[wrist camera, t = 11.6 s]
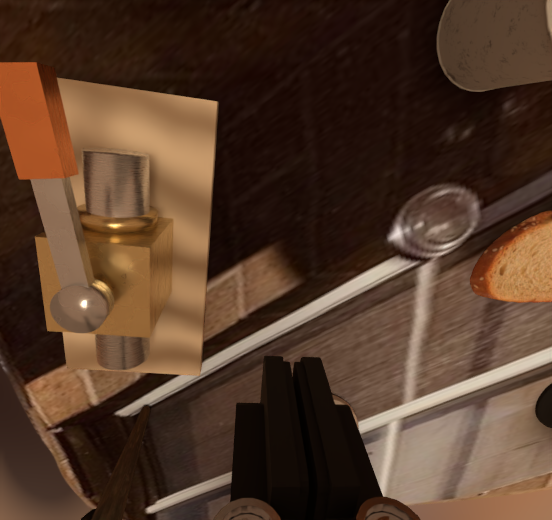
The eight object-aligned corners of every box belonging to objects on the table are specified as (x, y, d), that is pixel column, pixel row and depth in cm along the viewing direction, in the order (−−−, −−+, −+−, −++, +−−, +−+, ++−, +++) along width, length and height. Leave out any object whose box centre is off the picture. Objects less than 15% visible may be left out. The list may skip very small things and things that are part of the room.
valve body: (170, 338, 38) (146, 402, 29) (96, 333, 37) (48, 398, 28) (174, 155, 31) (145, 167, 22) (82, 143, 30) (13, 150, 21)
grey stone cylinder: (442, 105, 32) (546, 95, 21) (429, -12, 29) (547, -101, 17) (540, 73, 32) (701, 44, 21) (540, -50, 28) (734, -168, 17)
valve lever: (118, 318, 26) (109, 331, 24) (69, 321, 25) (57, 334, 24) (63, 67, 19) (46, 62, 18) (-2, 68, 19) (-26, 62, 18)
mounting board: (201, 367, 42) (199, 375, 40) (73, 359, 40) (66, 368, 39) (218, 102, 31) (217, 101, 29) (44, 76, 29) (33, 74, 28)
